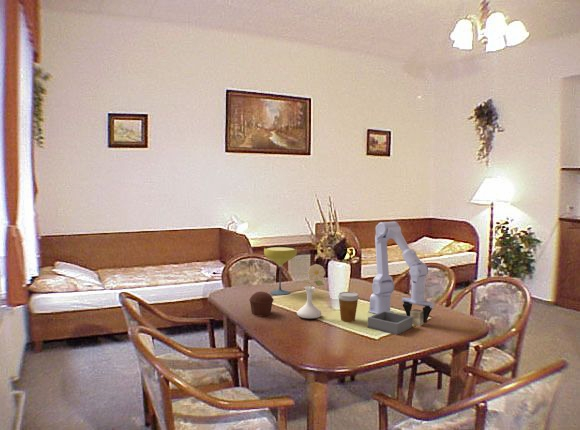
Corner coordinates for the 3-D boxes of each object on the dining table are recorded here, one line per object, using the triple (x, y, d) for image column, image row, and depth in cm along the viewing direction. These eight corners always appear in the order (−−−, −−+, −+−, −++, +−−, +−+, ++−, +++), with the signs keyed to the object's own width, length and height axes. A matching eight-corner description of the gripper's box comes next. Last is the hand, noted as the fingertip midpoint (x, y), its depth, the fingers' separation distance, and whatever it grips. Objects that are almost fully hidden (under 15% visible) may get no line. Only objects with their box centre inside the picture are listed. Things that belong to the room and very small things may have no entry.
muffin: (244, 313, 227) (244, 292, 226) (261, 308, 235) (261, 288, 234) (261, 318, 219) (261, 296, 218) (278, 313, 227) (278, 292, 226)
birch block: (409, 324, 214) (410, 311, 213) (414, 321, 217) (414, 308, 217) (419, 326, 211) (419, 312, 210) (423, 324, 214) (424, 310, 214)
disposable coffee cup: (360, 318, 221) (360, 292, 220) (356, 324, 212) (356, 297, 211) (339, 316, 225) (340, 290, 224) (335, 321, 216) (335, 295, 215)
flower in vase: (293, 318, 219) (294, 264, 217) (301, 312, 230) (302, 260, 228) (320, 322, 214) (322, 267, 212) (327, 315, 225) (329, 262, 223)
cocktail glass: (276, 287, 280) (277, 244, 278) (302, 292, 269) (303, 248, 267) (256, 293, 265) (257, 248, 263) (283, 298, 255) (283, 251, 253)
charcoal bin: (367, 327, 208) (367, 317, 207) (383, 320, 218) (384, 310, 218) (397, 334, 199) (397, 324, 198) (412, 327, 210) (412, 316, 209)
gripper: (398, 289, 214) (397, 319, 215) (429, 295, 205) (428, 326, 206) (406, 287, 220) (405, 316, 221) (436, 292, 210) (435, 322, 212)
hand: (416, 320), depth 214 cm, fingers open, 7 cm apart
